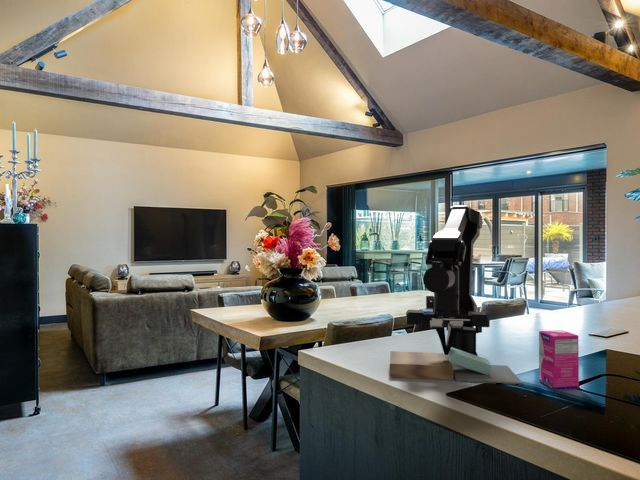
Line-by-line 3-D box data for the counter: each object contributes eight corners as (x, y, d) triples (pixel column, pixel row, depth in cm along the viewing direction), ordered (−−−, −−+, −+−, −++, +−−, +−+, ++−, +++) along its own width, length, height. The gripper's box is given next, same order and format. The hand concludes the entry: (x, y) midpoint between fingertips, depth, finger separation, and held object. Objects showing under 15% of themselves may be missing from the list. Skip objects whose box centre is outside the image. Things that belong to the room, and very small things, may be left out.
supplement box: (537, 381, 101) (538, 330, 101) (563, 381, 102) (563, 329, 102) (553, 390, 96) (553, 335, 96) (580, 389, 96) (580, 335, 96)
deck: (447, 365, 114) (447, 353, 114) (453, 379, 102) (453, 366, 102) (390, 362, 116) (390, 351, 116) (390, 376, 104) (390, 363, 104)
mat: (507, 367, 113) (507, 365, 113) (523, 384, 99) (523, 383, 99) (448, 364, 115) (448, 362, 115) (456, 381, 101) (456, 379, 101)
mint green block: (481, 367, 110) (484, 358, 110) (487, 375, 104) (491, 365, 104) (445, 355, 111) (448, 346, 111) (449, 362, 105) (453, 352, 105)
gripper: (481, 286, 115) (481, 348, 115) (405, 284, 118) (405, 345, 118) (490, 291, 104) (489, 359, 104) (406, 289, 107) (406, 355, 107)
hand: (446, 354), depth 108 cm, fingers closed
